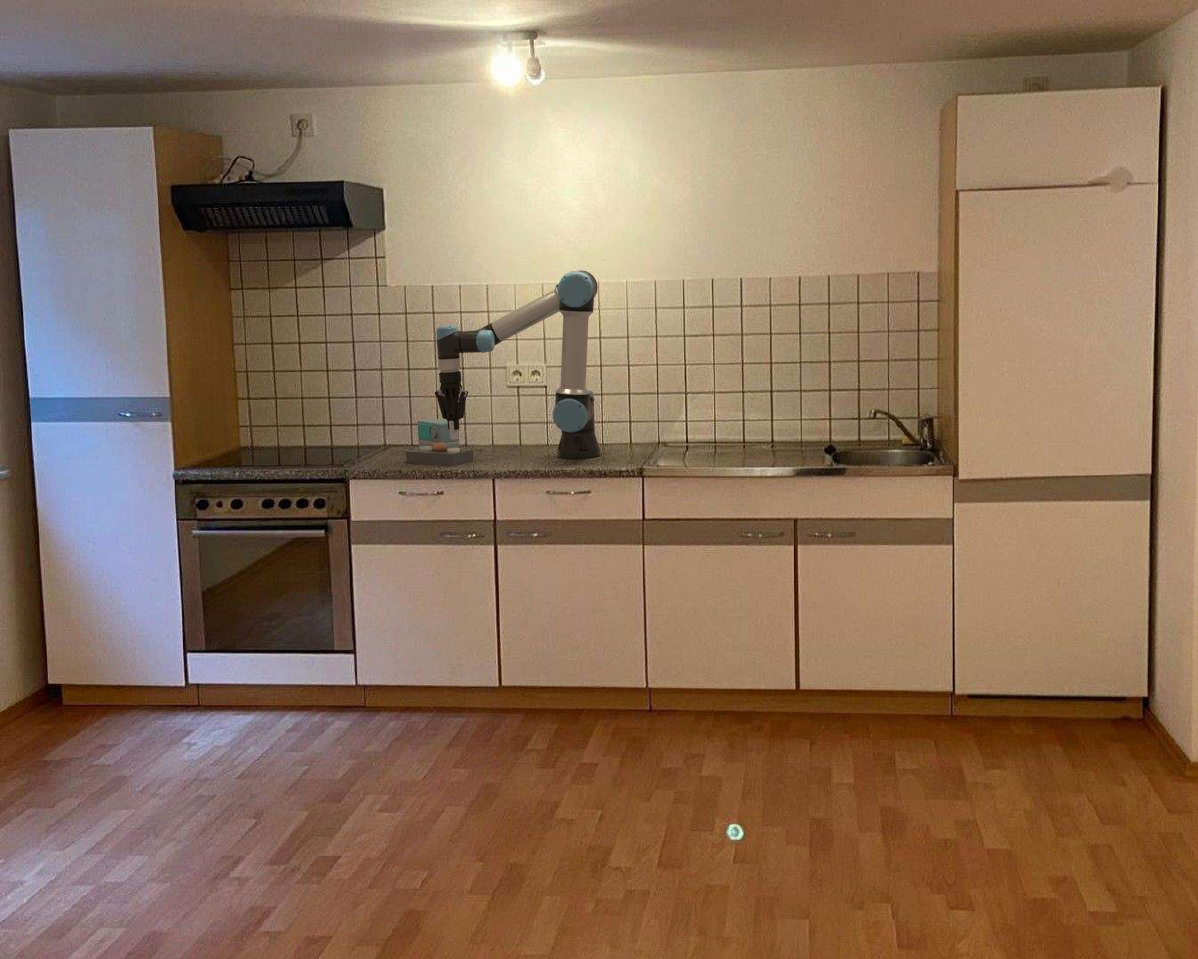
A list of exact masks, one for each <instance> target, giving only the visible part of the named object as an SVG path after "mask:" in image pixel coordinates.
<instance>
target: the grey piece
mask: <svg viewBox="0 0 1198 959" xmlns="http://www.w3.org/2000/svg"><path fill="white" fill-rule="evenodd" d="M405 455H406V456H405V459H406V463H407V462H408V463H407V464H417V465H418V464H419V465H431V466H433V465H434V466H435V465H437V466H447V467H448V466H449V467H454V466H458V465H462V464H466V463H470V462H474V460H475V459H474V449H472V448H471V449H470V448H460V452H456V453H452V452H447V448H446V451H433V447H432V450H429V451H420V450H419V448H415V449H412V450H407V451H405Z"/></svg>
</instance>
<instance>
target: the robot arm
mask: <svg viewBox="0 0 1198 959" xmlns="http://www.w3.org/2000/svg"><path fill="white" fill-rule="evenodd" d="M598 288H599V286H598V281H597V279H596V277H595V276H594V275H593V273H590V272H589V271H586V270H572V271H569V272H567V273H565V274H564V275H563V276H562V277H561V278H560V280H559V283H558V284H555V287H554V289H552V290H551V291H549V292H547V293H545V294H543V295H541V296H539V297H538V298H536V299H534V300H532V301H530V302H528V303H526V304H523V306H521V307H518V308H516V309H514V310H513V311H511V312H509V313H508V314H507V313H506V314H505V315H503V316H502V317H499V318H498V319H496V320H494V321H493V322H490V323H488V324H486V325H485V326H483V327H481V328H478V329H476V330H475V329H474V330H464V331H463V330H462V331H461V330H459V327H458V325H441V326H438V327H437V328H436V340H435V341H436V348H437V350H436V351H437V362H438V363H437V366H438V367H437V368H438V371H439V372H438V377H439V381H438V382H439V383H440V385H439V389H438V390H436V391H434V395H435V397H436V400H437V401H438V402H437V403H438V405H439V410H440V414H441V419H442V420H447V421H448V429H449V430H450V440H455V439H459V440H460V437H459V438H458V429H459V430H460V420H461V419H464V418H465V410H466V403H467V397H468V395H469V391H468V390H464V389H463V385H462V383H461V382H462V372H461V371H460V370H461V367H462V366H461V359H460V358H461V354H467V353H468V354H472V353H473V354H474V353H475V354H476V353H477V354H478V353H482V354H484V353H489V352H493V351H494V349H495V346H497V345H499V344H501V342H504V341H506V340H507V339H510V338H511V337H512V338H513V336H515V335H517V334H519V333H522V332H523V331H525V330H528V329H529V328H530V327H533V326H535V325H536V324H538V323H540V322H542V321H544V320H546V319H548V318H550V317H552V316H554V315H556V314H558V313H560V314H561V315H562V317H563V318H562V336H561V338H562V340H561V360H560V362H561V365H560V366H561V367H560V384H559V385H560V386H559V387H558V388H557V389H556V390H555V398H554V399H555V401H554V402H555V403H554V407H553V410H552V420H553V423H554V425H555V426H556V427H557V428H558V429H559V430H561V435H560V440H559V443H558V448H557V452H556V453H557V457H558V458H562V459H589V458H597V457H600V455H601V446H600V445H599V441H598V438H597V436H596V429H595V425H596V424H595V397H594V392H593V391H592V390H588V389H587V388H586V386H587V385H586V384H587V367H588V366H587V365H588V364H587V362H588V341H589V340H588V339H589V318H590V316H592V314H593V313H594V308H595V307H594V306H595V305H594V303H595V298H596V296H597V294H598Z"/></svg>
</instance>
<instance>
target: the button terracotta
mask: <svg viewBox="0 0 1198 959" xmlns="http://www.w3.org/2000/svg"><path fill="white" fill-rule="evenodd" d="M433 451H446V443H433Z"/></svg>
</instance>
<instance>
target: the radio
mask: <svg viewBox="0 0 1198 959" xmlns="http://www.w3.org/2000/svg"><path fill="white" fill-rule="evenodd" d="M416 422H417V423H416V424H417V438H418V440H417V442H418V448H419V447H421V446H432V447H433V443H446V448H460V428H459V429H458V438H459V439H455V440H450V430H449V429H448V421H447V420H446V419H443V418H429V419H428V418H427V419H421V420H420V419H418V420H417V421H416ZM460 449H461V448H460Z"/></svg>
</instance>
